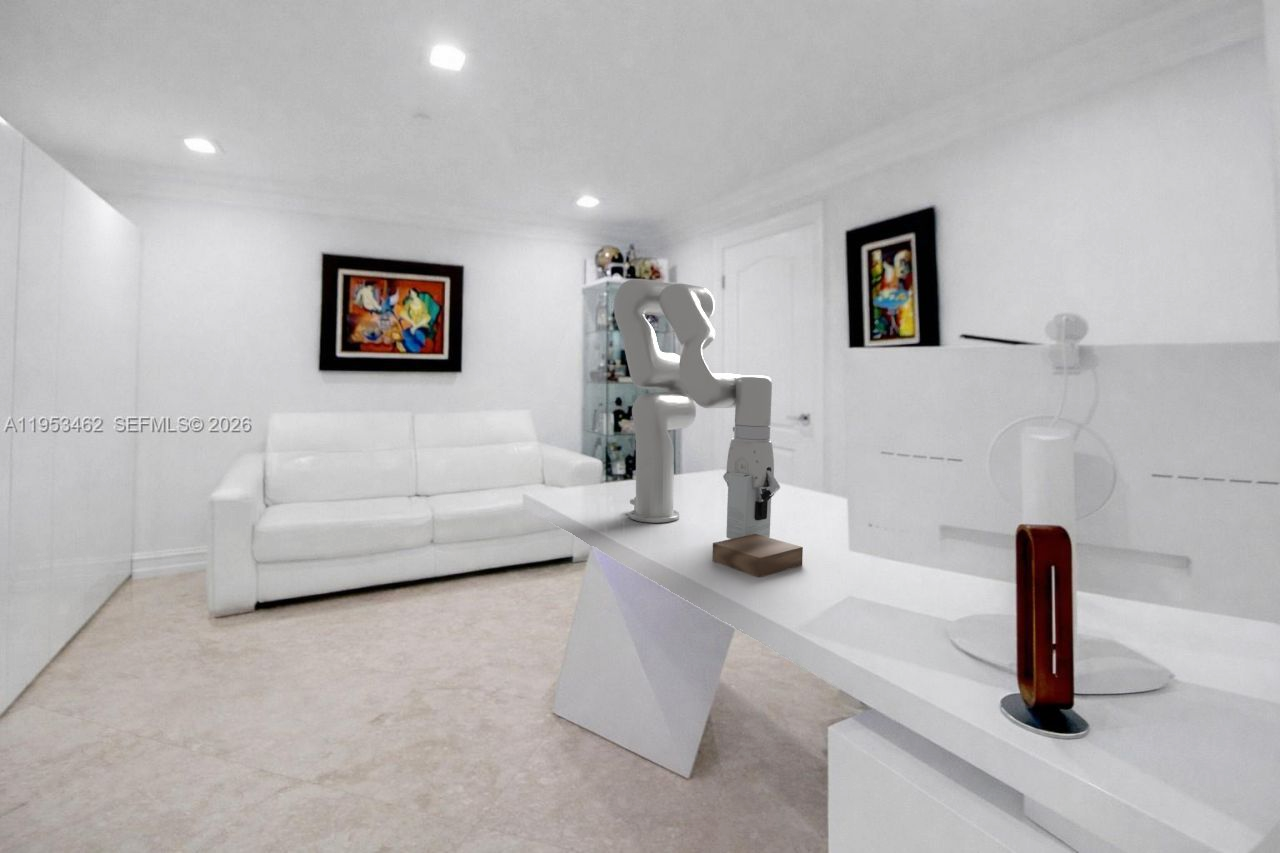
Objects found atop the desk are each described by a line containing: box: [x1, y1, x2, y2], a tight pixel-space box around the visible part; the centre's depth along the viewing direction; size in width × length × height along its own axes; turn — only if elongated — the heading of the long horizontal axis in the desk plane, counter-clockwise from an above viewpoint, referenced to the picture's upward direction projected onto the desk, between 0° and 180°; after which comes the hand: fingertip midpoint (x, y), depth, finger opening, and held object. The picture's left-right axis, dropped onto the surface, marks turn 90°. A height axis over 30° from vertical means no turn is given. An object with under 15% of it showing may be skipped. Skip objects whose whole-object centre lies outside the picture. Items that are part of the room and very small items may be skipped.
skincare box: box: [726, 472, 772, 540], centre depth 130 cm, size 8×6×15 cm
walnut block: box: [712, 534, 804, 578], centre depth 116 cm, size 12×12×4 cm
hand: (749, 515), depth 131 cm, fingers closed on skincare box, 6 cm apart
